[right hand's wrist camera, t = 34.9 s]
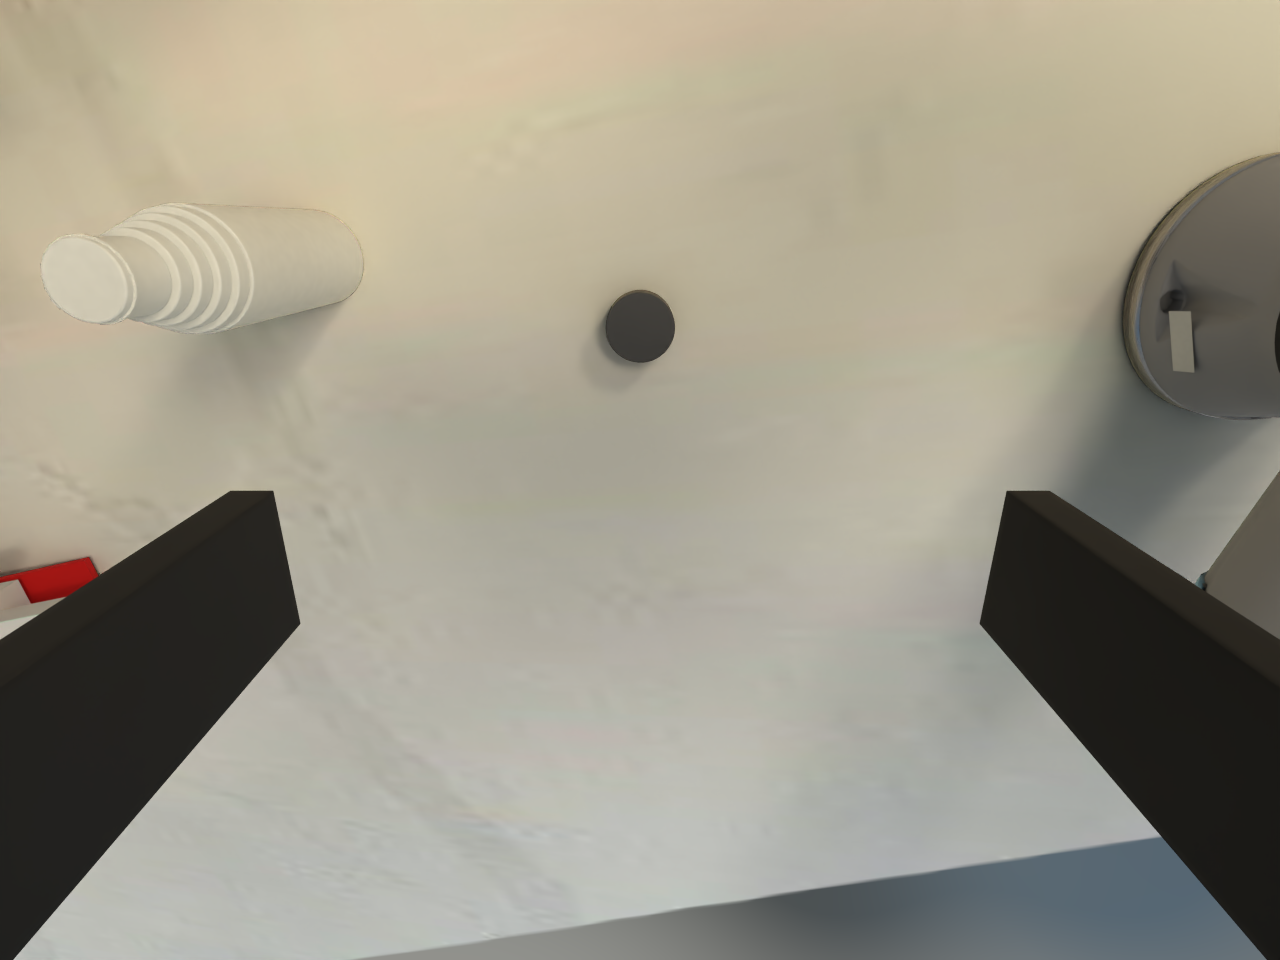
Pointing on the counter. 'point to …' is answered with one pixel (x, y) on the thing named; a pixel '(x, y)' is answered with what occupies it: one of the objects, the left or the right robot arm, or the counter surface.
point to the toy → (39, 591)
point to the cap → (640, 326)
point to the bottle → (204, 267)
